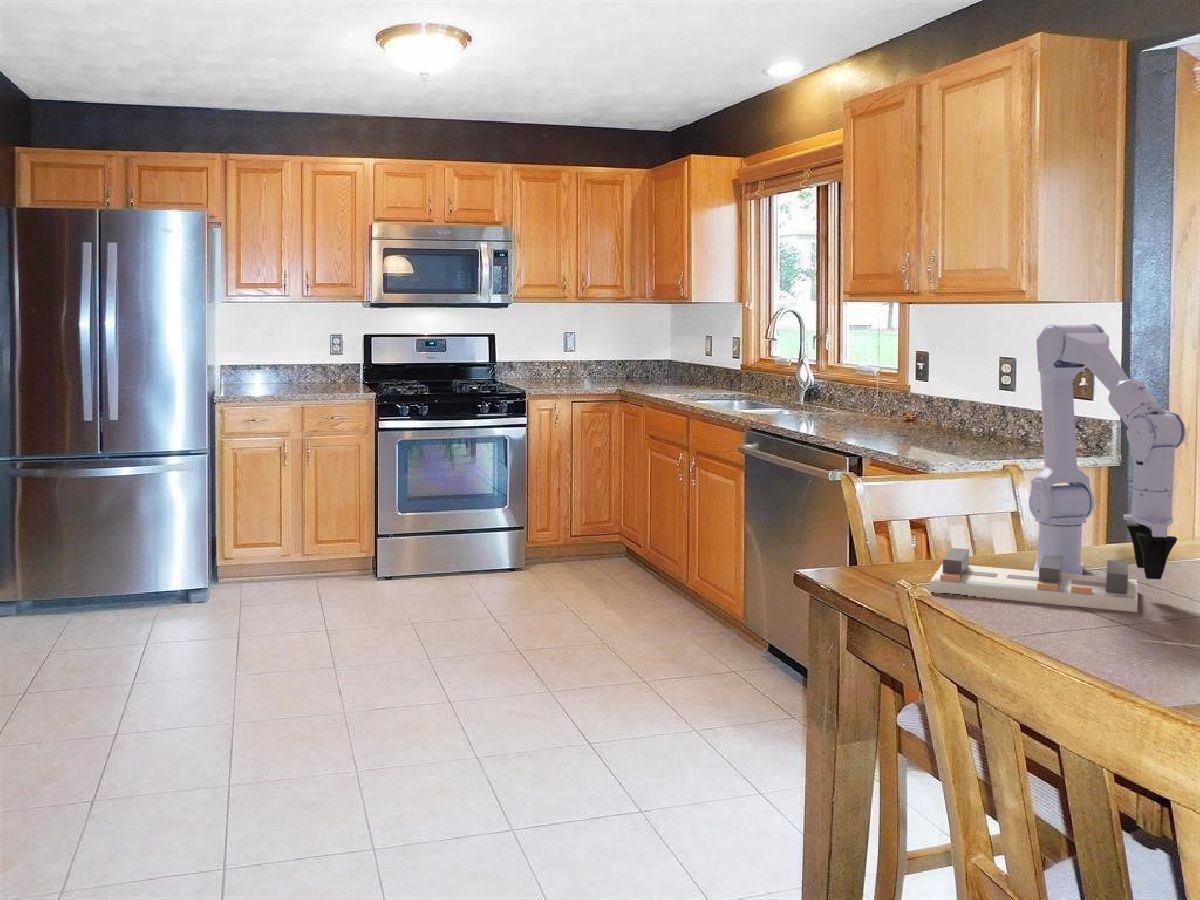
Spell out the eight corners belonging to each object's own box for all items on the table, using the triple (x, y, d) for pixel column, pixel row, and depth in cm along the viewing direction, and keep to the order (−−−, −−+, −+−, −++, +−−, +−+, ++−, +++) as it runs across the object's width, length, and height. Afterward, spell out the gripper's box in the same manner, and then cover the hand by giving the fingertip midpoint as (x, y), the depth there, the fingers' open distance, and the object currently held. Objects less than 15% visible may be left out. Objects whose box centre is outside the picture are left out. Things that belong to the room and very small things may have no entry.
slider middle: (1042, 572, 189) (1043, 555, 188) (1061, 573, 188) (1062, 556, 187) (1038, 585, 180) (1039, 567, 180) (1058, 587, 179) (1059, 569, 178)
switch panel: (942, 574, 197) (942, 557, 197) (1136, 591, 184) (1137, 573, 184) (930, 592, 184) (930, 574, 184) (1137, 612, 171) (1138, 593, 171)
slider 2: (1106, 577, 185) (1107, 560, 184) (1126, 579, 183) (1127, 561, 183) (1105, 591, 176) (1106, 573, 175) (1126, 593, 174) (1127, 574, 174)
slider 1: (950, 564, 195) (951, 547, 195) (968, 566, 194) (969, 549, 194) (942, 576, 186) (942, 559, 186) (961, 578, 185) (961, 561, 185)
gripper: (1117, 481, 184) (1114, 562, 185) (1133, 495, 170) (1129, 582, 171) (1164, 483, 182) (1160, 564, 183) (1184, 496, 168) (1179, 584, 169)
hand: (1148, 573), depth 177 cm, fingers open, 7 cm apart
